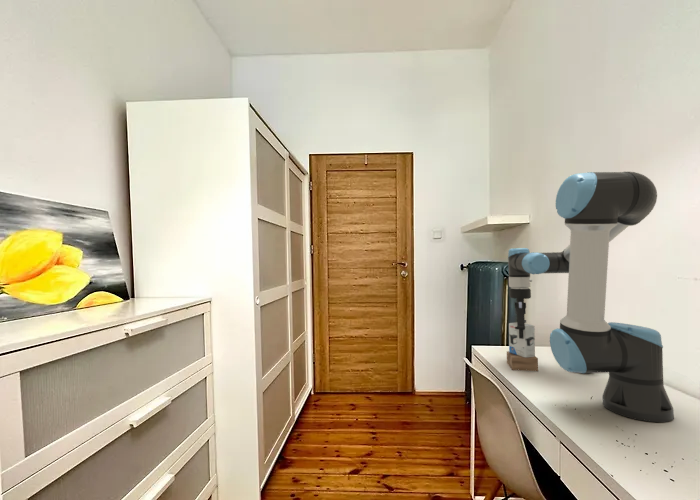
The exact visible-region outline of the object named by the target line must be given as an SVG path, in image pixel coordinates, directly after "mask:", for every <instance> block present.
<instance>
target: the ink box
mask: <svg viewBox="0 0 700 500" xmlns="http://www.w3.org/2000/svg"><path fill="white" fill-rule="evenodd" d="M515 327H517V321H515V322H509V323H508V348H509V350H508V351H509V352H510V353H513V354H516V355H519V356H522V357H525V358H526V357H535V356H536V341H535V340H536V338H535V337H536V335H535V333H536V331H535V330H536V329H535V325H533V324H530V323H525V342H526V348H525V347H518V346H517V329H515Z"/></svg>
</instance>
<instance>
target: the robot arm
mask: <svg viewBox="0 0 700 500" xmlns="http://www.w3.org/2000/svg"><path fill="white" fill-rule="evenodd" d="M556 193H557V194H556V196H555V210H556V213H557V215H558V216H559V217H561V218H562V219H564V225H565V226H566V227H567V228H568V229H569V231H570V236H569V237H570V239H569V241H570V242H569V244H568V246H566V247H565V248H564V249H563V251H560V252H559V251H558V252H553V251H552V252H530V249H529V248H527V247H518V248H517V247H516V248H508V253H507V254H508V255H507V261H508V287H509V289H508V290H509V291H508V294H509V296H508V297H510V299H516V302H515V301H514V308H515V314H516V322H517V327H515V329H517V346H518V347H525V348H526V342H525V324H527V320H526V319H525V315H526V311H527V310H526V308H527V302H524V300H525V299H526V300H529V299H531V298H532V293H531V292H532V290H531V288H530V287H531V283H532V282H533V279H531V275H541V274H568V278H567V279H568V280H567V281H568V283H567V298H566V299H567V302H566V303H567V304H566V315H565V316H563V317H562V318H560V321H559V328H557V327H556V328H554V329H553V330H552V331H551V332H550V335H549V345H550V350H551V353H552V355H553V357H554V359H555V361H556V363H557V364H558V365H559V366H560V367H561V368H562V369H563V370H564V371H565V372H569V373H578V372H579V374H583V373H591V374H593V373H600V374H601V373H608V380H607V382H606V385H605V388H604V390H603V393H602V405H603V407H604V408H606V409H607V410H608V411H611V412H612V413H615V414H617V415H620V416H622V417H626V418H630V419H634V420H638V421H644V422H651V423H652V422H653V423H666V422H670V421H673V420H674V418H675V415H674V411H675V409H674V407H673V405H672V403H671V401H670V398H669V395H668V393H667V390H666V388H665V385H664V366H663V365H664V362H663V361H664V359H663V358H664V357H663V356H664V353H663V348H664V346H663V342H662V335H661V333H660V332H659V331H658V330H657V329H654V328H650V327H647V326H641V325H635V324H630V323H629V324H628V323H623V322H616V321H615V322H614V321H613V322H612V321H611V322H610V321H609V322H607V321H606V320H605V315H606V314H605V312H606V298H607V297H606V296H607V294H606V293H607V280H608V265H609V264H608V263H609V247H610V243H611V241H612V240H614V239H615V238H616V237H617V236H619V235H620V234H621V233H622V232H624V231H625V230H626V229H627V228H628V227H632V226H636V225H638V224H640V223H641V222H642V221H643V220H644V219H645V218H646V217H648V215H650V214H651V213H652V211H653V210H654V208H655V206H656V203H657V199H658V192H657V188H656V186H655V184H654V182H653V181H652V180H651V179H650V178H648V177H647V176H646V175H644V174H643V173H639V172H635V171H618V172H617V171H615V172H614V171H611V172H610V171H603V172H602V171H601V172H600V171H596V172H595V171H593V172H592V171H591V172H590V171H589V172H588V171H587V172H580V173H574V174H571V175H569V176H568V177H567V178H565V179H564V180H563V182H562V184H561V185H560V186H559V188H558V190H557V192H556Z"/></svg>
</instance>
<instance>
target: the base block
mask: <svg viewBox="0 0 700 500" xmlns="http://www.w3.org/2000/svg"><path fill="white" fill-rule="evenodd" d="M506 364H507V365H508V367H509V368H510V369H511V370H512V371H522V372H523V371H524V372H525V371H526V372H539V358H538V357H537V356H536V355H535V357H526V358H525V357H522V356H519V355H516V354H513V353H510V352H509V350H507V351H506Z"/></svg>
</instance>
